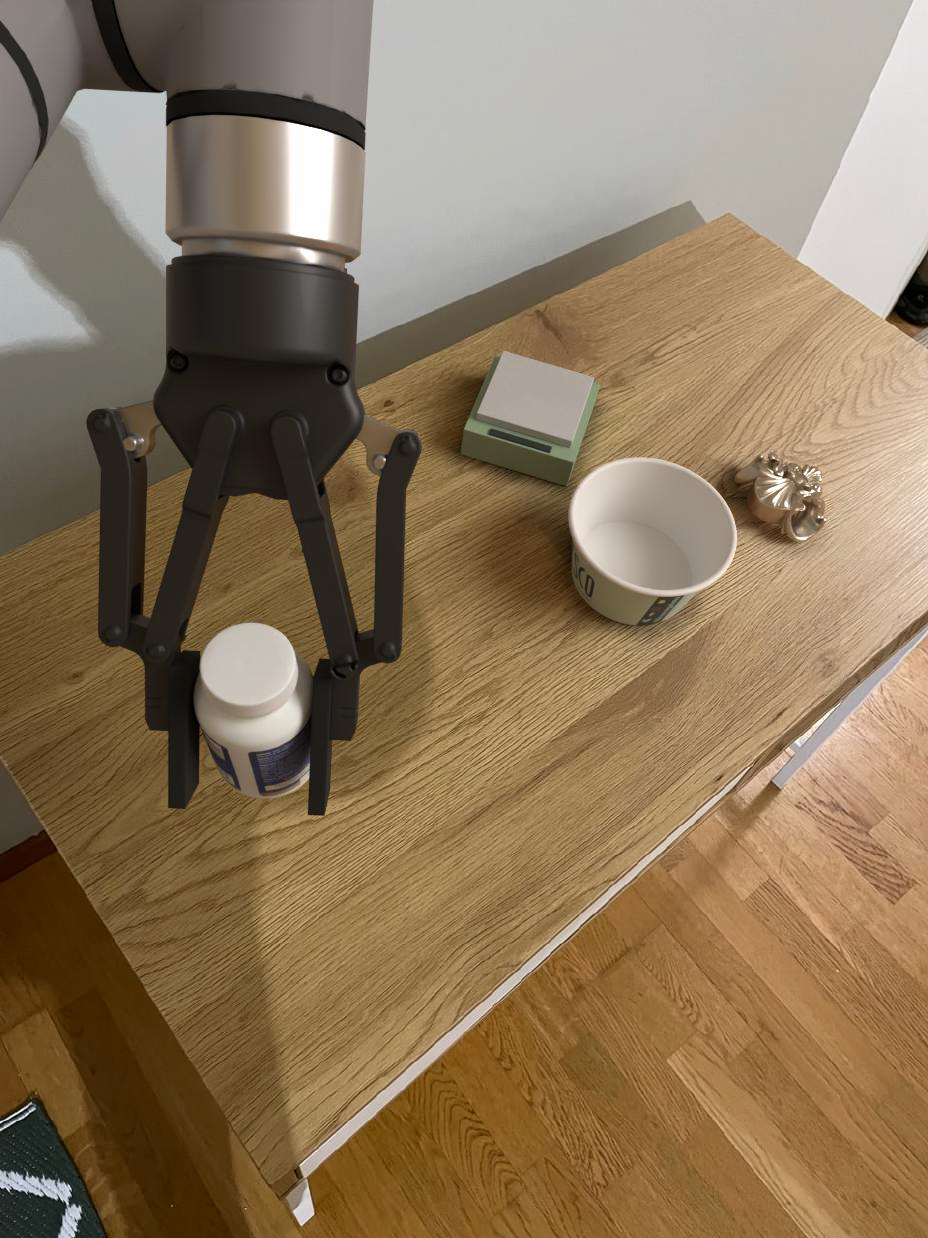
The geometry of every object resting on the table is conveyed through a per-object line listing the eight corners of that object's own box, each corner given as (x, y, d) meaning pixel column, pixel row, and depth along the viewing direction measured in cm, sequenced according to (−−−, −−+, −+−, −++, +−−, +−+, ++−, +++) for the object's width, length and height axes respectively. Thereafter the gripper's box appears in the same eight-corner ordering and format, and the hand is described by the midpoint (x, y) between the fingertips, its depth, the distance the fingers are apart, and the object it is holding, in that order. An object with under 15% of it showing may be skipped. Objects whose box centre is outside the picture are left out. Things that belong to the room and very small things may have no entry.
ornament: (842, 521, 76) (863, 493, 72) (782, 557, 73) (801, 529, 70) (775, 455, 79) (791, 425, 75) (715, 487, 76) (729, 457, 73)
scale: (460, 454, 76) (464, 422, 72) (492, 379, 80) (497, 345, 77) (566, 486, 75) (575, 455, 72) (592, 409, 79) (602, 376, 76)
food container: (738, 614, 70) (770, 565, 64) (596, 663, 67) (617, 616, 61) (661, 493, 75) (684, 439, 70) (527, 533, 72) (540, 479, 67)
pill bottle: (332, 712, 49) (325, 618, 41) (308, 810, 46) (295, 731, 38) (231, 694, 49) (203, 597, 41) (201, 791, 46) (164, 708, 38)
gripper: (488, 289, 41) (449, 775, 47) (61, 252, 40) (75, 756, 46) (504, 271, 34) (455, 848, 40) (-17, 225, 33) (10, 827, 39)
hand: (252, 798), depth 43 cm, fingers closed on pill bottle, 5 cm apart
